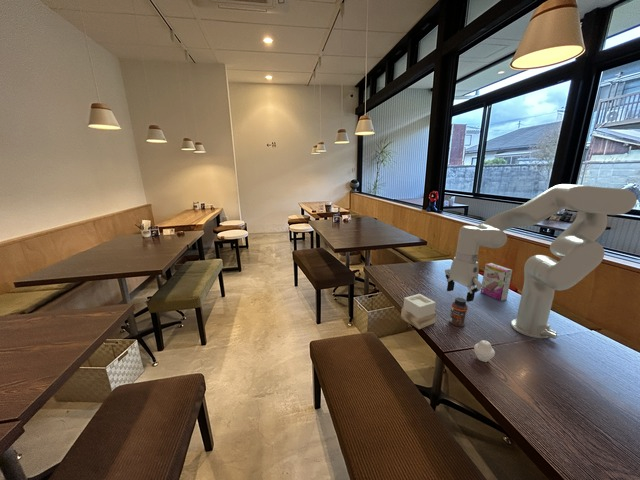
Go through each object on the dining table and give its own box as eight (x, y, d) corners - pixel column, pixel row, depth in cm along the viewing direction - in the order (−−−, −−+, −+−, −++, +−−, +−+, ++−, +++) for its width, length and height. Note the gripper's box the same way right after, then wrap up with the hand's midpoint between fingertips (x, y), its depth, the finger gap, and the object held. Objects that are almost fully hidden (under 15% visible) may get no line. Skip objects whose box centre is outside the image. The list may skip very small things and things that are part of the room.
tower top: (434, 313, 110) (435, 302, 108) (418, 318, 106) (419, 307, 105) (418, 304, 118) (419, 293, 116) (403, 308, 114) (404, 297, 113)
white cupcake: (468, 355, 91) (471, 338, 90) (480, 351, 93) (483, 334, 92) (484, 367, 86) (487, 349, 84) (497, 362, 88) (501, 344, 86)
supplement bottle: (449, 325, 110) (452, 300, 107) (449, 318, 115) (452, 294, 112) (465, 328, 107) (468, 304, 104) (464, 321, 112) (468, 297, 109)
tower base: (435, 323, 111) (436, 312, 110) (419, 330, 107) (420, 319, 105) (416, 312, 120) (417, 303, 119) (400, 318, 115) (401, 308, 114)
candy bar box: (479, 292, 138) (484, 263, 134) (486, 290, 140) (491, 262, 136) (500, 301, 128) (506, 271, 124) (507, 300, 130) (513, 269, 126)
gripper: (493, 262, 97) (485, 304, 101) (455, 249, 112) (449, 286, 117) (478, 265, 94) (470, 307, 98) (441, 251, 110) (436, 288, 114)
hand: (459, 295), depth 108 cm, fingers open, 9 cm apart
